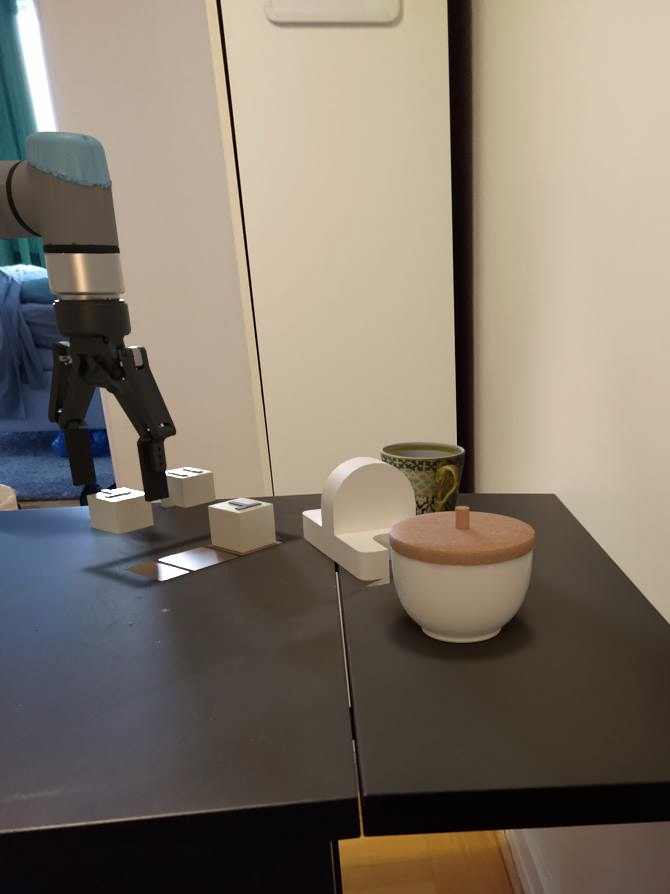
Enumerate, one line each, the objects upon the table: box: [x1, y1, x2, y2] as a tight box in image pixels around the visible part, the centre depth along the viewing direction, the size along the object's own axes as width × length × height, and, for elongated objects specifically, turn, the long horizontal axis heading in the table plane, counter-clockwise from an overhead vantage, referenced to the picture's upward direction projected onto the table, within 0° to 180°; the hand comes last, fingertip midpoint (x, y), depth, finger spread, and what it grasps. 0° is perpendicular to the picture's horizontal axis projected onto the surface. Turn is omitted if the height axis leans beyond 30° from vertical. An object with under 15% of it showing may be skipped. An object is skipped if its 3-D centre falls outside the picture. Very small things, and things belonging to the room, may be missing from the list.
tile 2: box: [207, 497, 277, 553], centre depth 98 cm, size 5×5×5 cm
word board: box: [123, 540, 283, 582], centre depth 94 cm, size 8×20×1 cm, turn 146°
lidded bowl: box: [389, 505, 536, 644], centre depth 77 cm, size 13×13×11 cm
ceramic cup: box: [379, 441, 466, 516], centre depth 104 cm, size 13×10×10 cm
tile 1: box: [86, 487, 155, 535], centre depth 104 cm, size 5×5×5 cm
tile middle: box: [159, 466, 217, 509], centre depth 116 cm, size 5×5×5 cm
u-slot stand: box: [301, 456, 416, 587], centre depth 96 cm, size 10×18×11 cm, turn 30°
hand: (120, 491), depth 103 cm, fingers open, 13 cm apart
